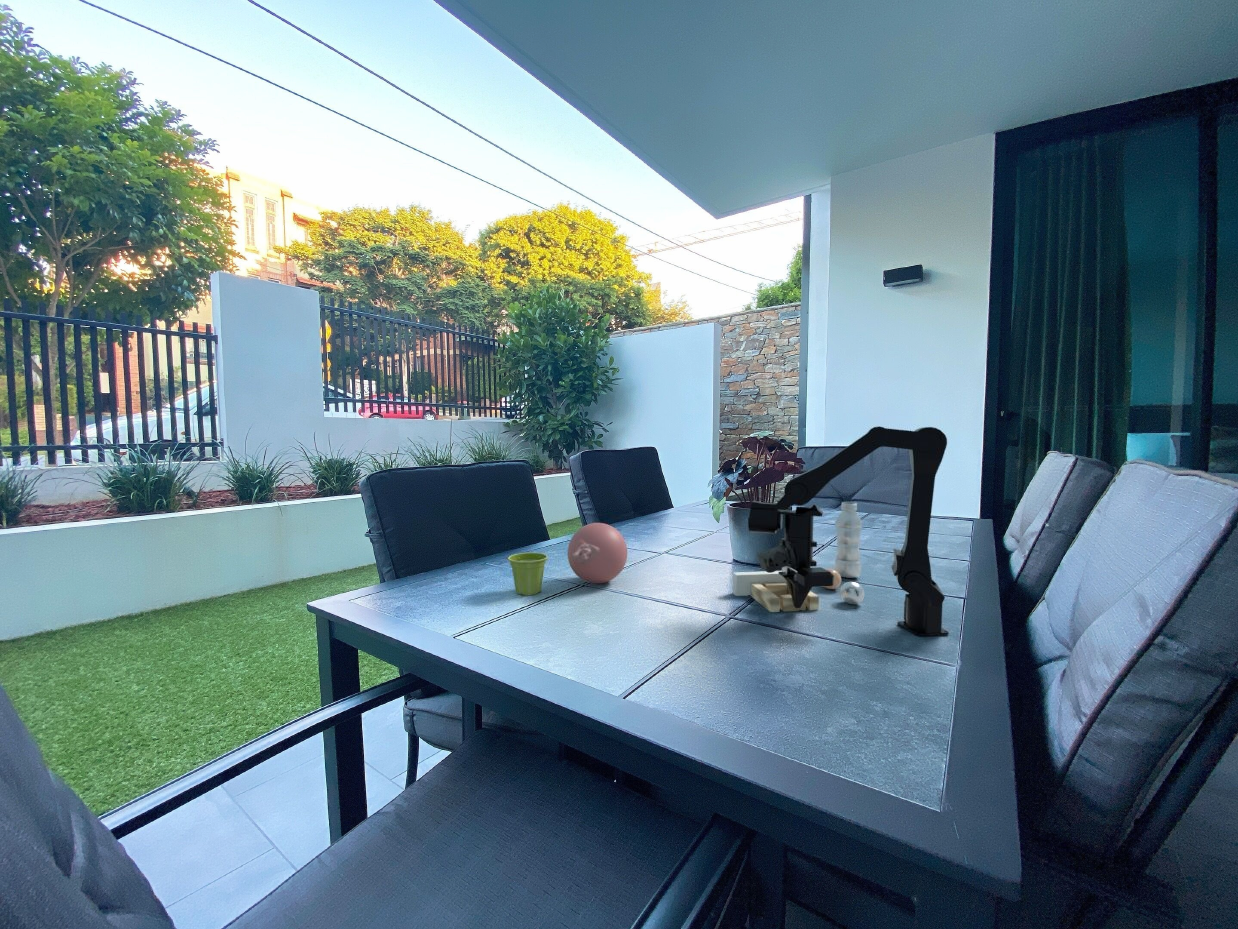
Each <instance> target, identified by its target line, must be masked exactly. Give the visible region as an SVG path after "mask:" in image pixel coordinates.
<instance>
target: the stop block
mask: <svg viewBox="0 0 1238 929" xmlns="http://www.w3.org/2000/svg"><path fill="white" fill-rule="evenodd" d="M778 572H782V570H776V571H775V572H772V573H768V572H766V570H764V571H763V570H762V571H742V572H741V571H739V572H737V571H736V572H732V594H733V595H734V596H736V597H744V596H745V597H748V595H750V596H751V584H752V583H760V584H761V585H762V586H763V583H776V582H784V583H785V584H787V581H786V580H785V579H784V578H783V577H782V576H781V575H780V574H779V573H778Z"/></svg>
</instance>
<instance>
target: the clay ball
mask: <svg viewBox="0 0 1238 929" xmlns="http://www.w3.org/2000/svg"><path fill="white" fill-rule="evenodd" d="M824 569H825V570H828V571H830V572H831V573H832V574H833V575H834V585H833V586H823V588H825V589H828V590H836V589H838V588H839V586H840V585H841V584H842V577H841V576H840V574H839V573H838V572H837V571H836V570H835V569H834V568H824Z"/></svg>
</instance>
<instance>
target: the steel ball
mask: <svg viewBox="0 0 1238 929" xmlns="http://www.w3.org/2000/svg"><path fill="white" fill-rule="evenodd" d="M839 595H840V597H841V599H842V600H843V601H844V602H845V603H846V604H850V605H858V604H860V603H861V602H862V601H863V600H864V599H865V590H864V588H863V587H862V585H861V584H859V583H858V582H856V581H847V582H845V583H843V584H842V585H841V587H840V589H839Z"/></svg>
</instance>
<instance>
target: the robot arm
mask: <svg viewBox="0 0 1238 929" xmlns="http://www.w3.org/2000/svg"><path fill="white" fill-rule="evenodd" d="M947 445H948V438H947V436H946V434H945V433H944V432H943V431H942V430H941V429H939V428H937V427H933V426H927V427H920V428H917V429H915V430H906V429H896V428H886V427H883V426H874V427H871V428H869V429H868V431H867V432H866V433H865V434H863V435H862V436H860V437H859V438H858V439H856V440H855V441H853V442H852V443H851V444H850V445H848V446H846V447H845V448H843V449H842V450H840V451H839V452H837V453H836V454H835V455H833V456H832V457H831V458H828V460H826V461H825V462H824V463H822V464H820V465H818V466H816V467H814V468H812V469H811V468H810V469H809V470H807V471H804V472H803V473H800V474H798V475H797V476H793V477H792V478H791V479H789V481H787V483H786V484H785V486H784V491H783V492H784V495H783V496H782V497H781V498H779V499H778V500H777V502H762V501H756V500H752V501H751V502H750V509H749V515H748V518H747V521H748V522H747V524H748V526H747V527H748V532H750V533H757V534H759V533H761V534H772V535H776V534H777V533H778V530H782V529H783V523H784V538H783V537H782V538H780V540H779V544H778V546H776V547H771V548H769V549H766V550H764V551H762V552H759V553H758V554H757V556H756V557H757V560H758V562H759V566H760V568H761V570H764V571H766V572H768V573H772V572H775V571H778V570H780V569H781V571H782V572H778V573H779V574H780V575H781V576H782V577H783V578H784V579H785V580H786V581H787V583H788V586H789V590H790V593H791V597H792V600H793V604H794V607H795V608H801V606H802V604H803V602H804V600H805V599H806V597H807V595H808V593H809V592H810V591H811V590H812V589H813V587H814V588H815V587H816V588H817V587H824V586H833V585H834V575H833V574H832V573H831V572H830V571H828V570H825V569H826V568H823V567H822V566H821V567H817V564H818V562H817V561H816V560H814V559H813V556H814V555H813V551H814V550H813V549H814V548H817V547H818V542H817V541H815V540H814V517H822V516H823V514H824V511H823V510H821V508H820V507H818V505H817V503H813V504H812V505H811V506H804V505H806V504H808V503H809V502H810V501H812V500H813V499H814V497H815V496H816V495H818V493H820V492H821V490H822V489H824V488H825V487H826V486H827V484H829V483H830V482H831V481H832V480H833V479H835V478H836V477H838V476H839V475H841V474H842V473H844V472H845V471H847V470H848V469H850V468H851V467H853V466H854V465H855V464H857V463H858V462H860V461H861V460H863V459H864V458H866V457H867V456H868V455H870V454H872V453H873V452H875V451H877V449H879V448H881V447H887V448H892V449H893V448H894V449H903V450H908V454H909V462H910V463H909V464H910V468H911V478H910V480H911V481H910V487H909V498H908V499H909V500H908V507H907V508H908V510H907V517H906V518H907V520H906V528H905V536H904V537H905V538H904V543H903V545H902V547H901V550H900V549H897V548H894V549H893V563H892V565H891V570H892V573H893V576H894V577H896V581H897V583H898V585H899V587H900V588H901V589H902V590H903V591H904V592H906V593H905V597H904V604H903V620H901V621H900V620H899V621H897V622H896V624H897V625H898V626H900V627H902V628H903V629H905V630H907V631H909V632H911V633H912V634H914V635H916V636H918V637H925V636H926V637H927V636H928V637H929V636H930V637H931V636H944V635H945V636H947V635H949V633H950V631H948V630H946V629H944V628H943V627H942V626H943V625H942V624H943V605H944V604H943V603H944V600H945V598H946V597H945V594H943V591H942V590H941V588H940V586H939V585H938V583H937V582H936V581H934V579H933V577H932V570H931V560H930V554H929V548H928V546H929V535H930V529H931V528H930V526H931V520H932V509H933V502H934V500H933V499H934V492H935V483H936V475H937V473H938V470H939V468H940V466H941V463H942V461H943V459H944V455H945V451H946V449H947V447H948V446H947ZM794 505H795V506H796V507H795V509H794V510H793V509H792V510H790V509H789V508H791V507H793V506H794ZM783 515H784V522H783Z"/></svg>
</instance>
